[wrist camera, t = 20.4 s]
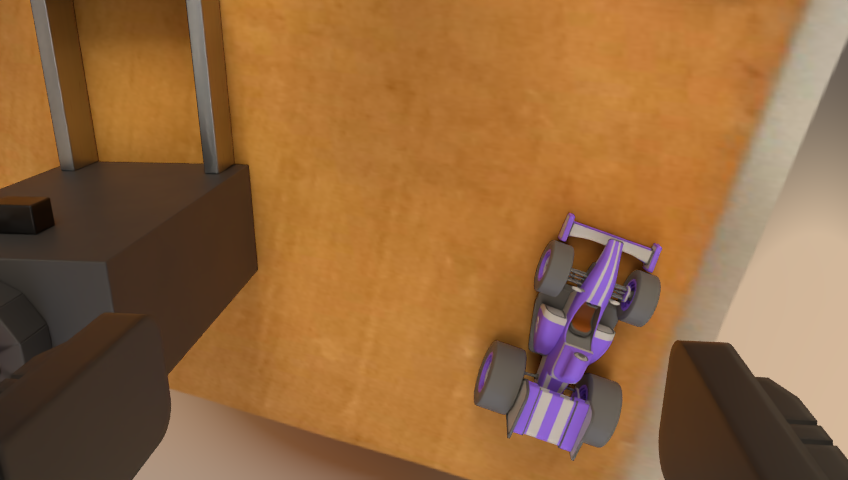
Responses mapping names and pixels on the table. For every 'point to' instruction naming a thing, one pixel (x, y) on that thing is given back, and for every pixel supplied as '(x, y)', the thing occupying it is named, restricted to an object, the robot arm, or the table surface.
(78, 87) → the frame
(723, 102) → the table surface
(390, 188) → the table surface
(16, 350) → the coffee maker
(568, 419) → the toy race car
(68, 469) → the robot arm
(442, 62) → the table surface
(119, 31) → the table surface
